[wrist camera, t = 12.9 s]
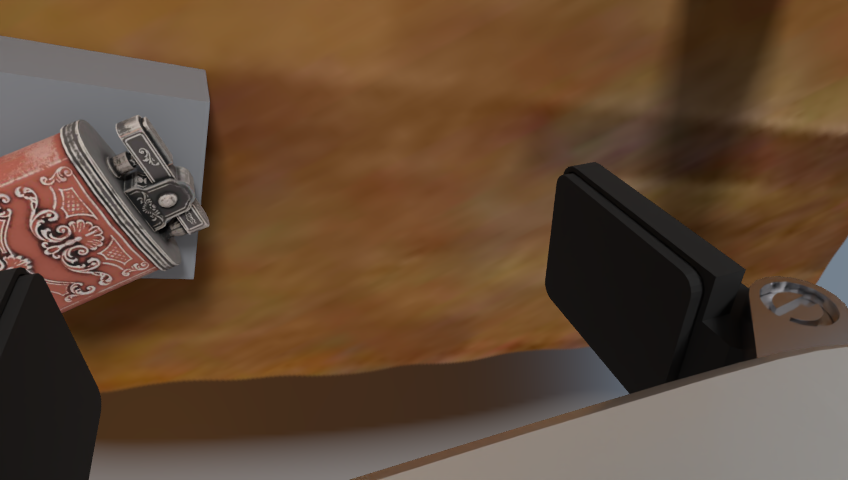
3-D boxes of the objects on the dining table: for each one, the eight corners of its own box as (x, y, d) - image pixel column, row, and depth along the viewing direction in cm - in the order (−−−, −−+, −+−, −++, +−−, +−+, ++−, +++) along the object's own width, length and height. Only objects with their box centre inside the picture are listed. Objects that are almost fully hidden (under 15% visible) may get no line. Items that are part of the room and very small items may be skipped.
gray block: (205, 68, 31) (210, 102, 27) (191, 225, 36) (193, 279, 31) (-19, 30, 27) (-60, 63, 22) (-3, 215, 31) (-35, 274, 27)
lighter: (41, 301, 29) (225, 219, 30) (31, 347, 26) (232, 256, 28) (-92, 177, 24) (137, 83, 25) (-121, 220, 21) (136, 113, 22)
